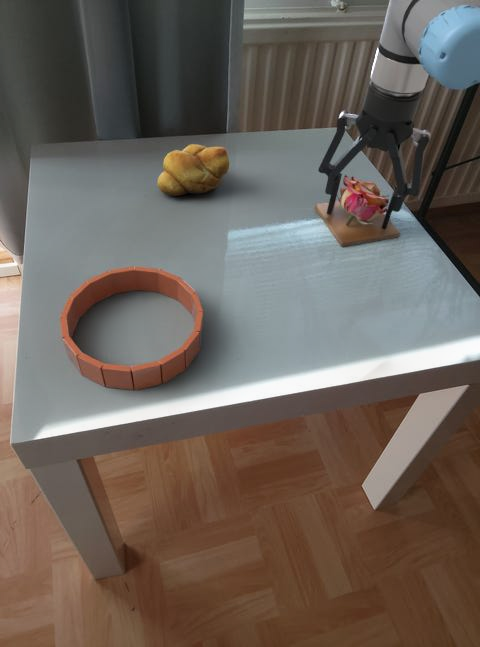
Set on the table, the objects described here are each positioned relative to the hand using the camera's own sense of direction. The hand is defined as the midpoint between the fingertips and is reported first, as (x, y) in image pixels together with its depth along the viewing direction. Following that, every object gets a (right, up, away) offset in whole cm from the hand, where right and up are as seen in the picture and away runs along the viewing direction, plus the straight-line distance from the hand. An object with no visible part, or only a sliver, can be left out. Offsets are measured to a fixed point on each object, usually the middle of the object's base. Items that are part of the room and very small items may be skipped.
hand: (357, 216), depth 87 cm
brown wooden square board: (0, -1, +1) cm, 1 cm away
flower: (0, 0, 0) cm, 0 cm away
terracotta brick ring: (-35, -20, -19) cm, 44 cm away
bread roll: (-30, +7, +5) cm, 31 cm away
